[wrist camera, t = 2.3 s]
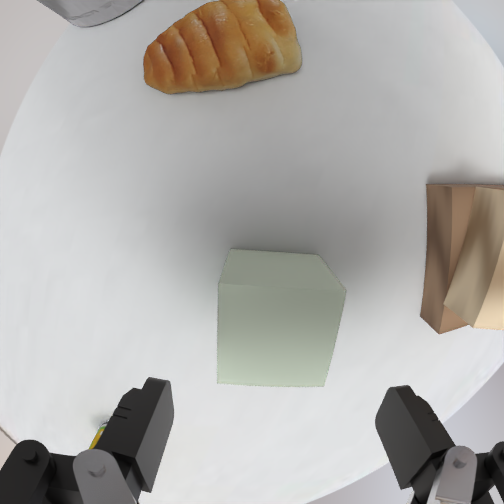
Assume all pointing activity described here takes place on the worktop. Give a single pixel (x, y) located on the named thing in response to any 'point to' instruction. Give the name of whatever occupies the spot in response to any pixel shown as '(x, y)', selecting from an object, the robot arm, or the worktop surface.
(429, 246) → the block bottom
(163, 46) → the pastry
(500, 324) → the block top
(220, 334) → the sage block
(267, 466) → the worktop surface
